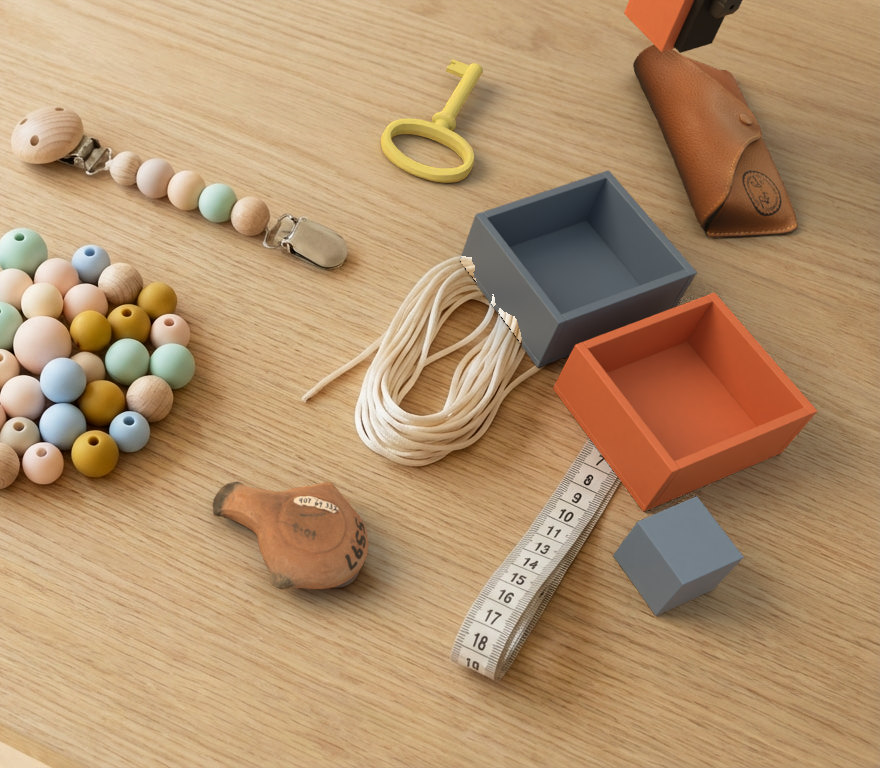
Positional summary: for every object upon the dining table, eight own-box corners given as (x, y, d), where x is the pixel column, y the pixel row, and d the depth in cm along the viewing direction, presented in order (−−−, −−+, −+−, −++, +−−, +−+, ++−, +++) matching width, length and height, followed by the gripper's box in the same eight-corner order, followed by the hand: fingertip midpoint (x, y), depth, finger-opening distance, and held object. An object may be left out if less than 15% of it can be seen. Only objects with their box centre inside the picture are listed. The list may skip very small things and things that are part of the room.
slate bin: (586, 217, 91) (608, 169, 87) (670, 317, 86) (697, 272, 81) (458, 261, 88) (475, 213, 84) (537, 368, 83) (559, 323, 78)
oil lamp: (318, 470, 78) (203, 509, 76) (322, 430, 75) (202, 470, 73) (383, 580, 73) (261, 625, 71) (391, 542, 70) (263, 588, 68)
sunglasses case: (808, 230, 90) (800, 176, 85) (711, 264, 93) (697, 215, 88) (727, 65, 100) (715, 9, 95) (641, 101, 103) (625, 48, 98)
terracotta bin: (686, 336, 85) (714, 291, 81) (782, 452, 80) (818, 411, 75) (552, 388, 82) (575, 344, 78) (643, 512, 77) (672, 472, 72)
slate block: (669, 530, 76) (697, 495, 72) (714, 589, 74) (744, 557, 70) (612, 555, 75) (637, 521, 71) (655, 616, 73) (683, 584, 69)
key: (479, 80, 99) (485, 59, 97) (469, 190, 92) (476, 170, 90) (390, 66, 99) (395, 45, 97) (374, 174, 92) (379, 154, 90)
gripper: (670, -394, 68) (554, -40, 88) (886, -239, 60) (704, 117, 79) (776, -414, 70) (639, -63, 90) (1000, -266, 62) (795, 88, 81)
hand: (670, 21), depth 84 cm, fingers closed on terracotta block, 4 cm apart
